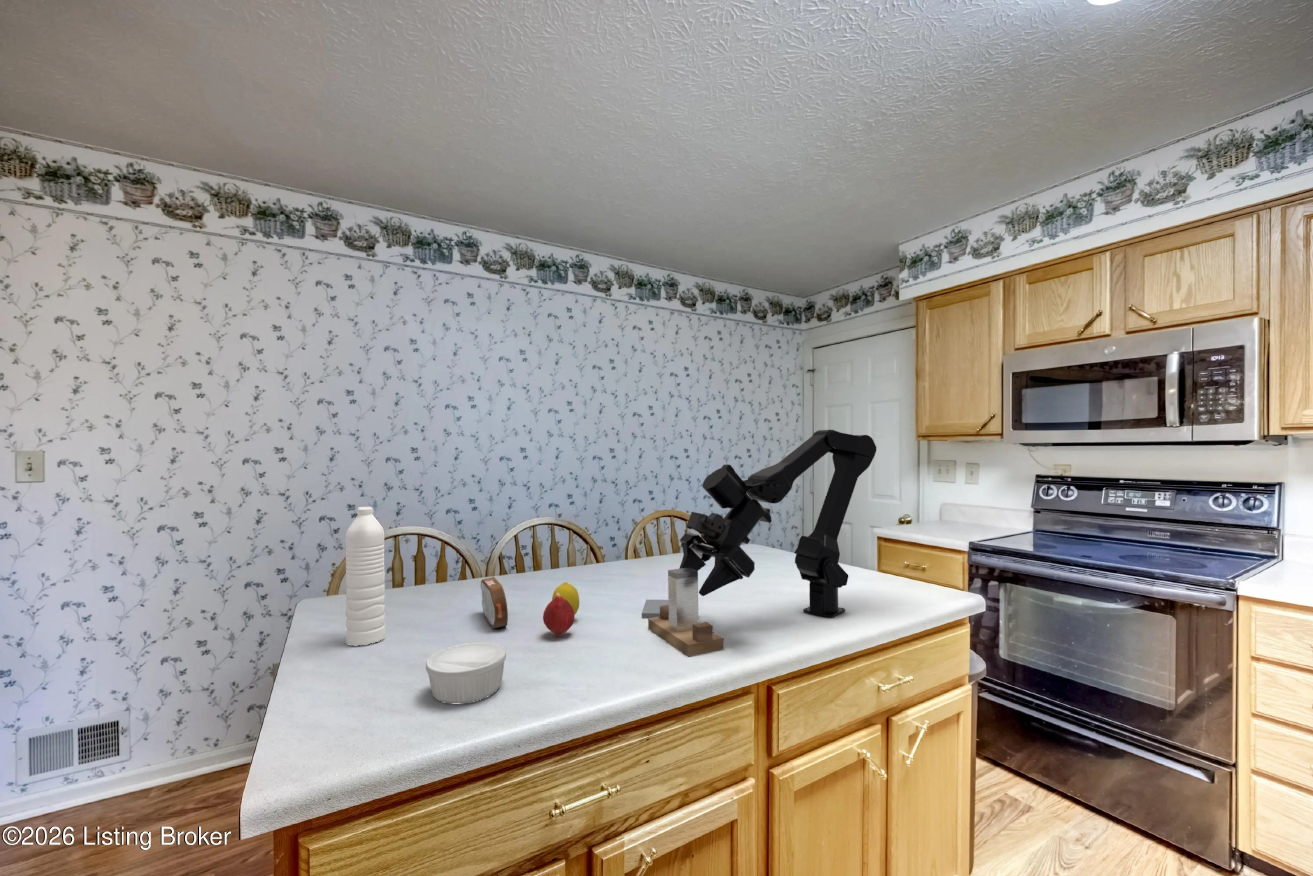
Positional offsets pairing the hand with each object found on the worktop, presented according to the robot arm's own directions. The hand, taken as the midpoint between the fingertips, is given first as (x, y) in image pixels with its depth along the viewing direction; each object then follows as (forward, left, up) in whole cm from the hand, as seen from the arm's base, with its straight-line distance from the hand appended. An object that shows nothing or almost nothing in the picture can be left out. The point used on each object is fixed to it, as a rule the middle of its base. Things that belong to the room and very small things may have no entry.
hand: (688, 588), depth 103 cm
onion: (+15, -19, -9) cm, 26 cm away
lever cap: (+1, 0, -7) cm, 7 cm away
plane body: (+1, 0, -9) cm, 9 cm away
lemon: (+9, -25, -9) cm, 28 cm away
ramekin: (+38, -10, -9) cm, 41 cm away
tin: (+19, -36, -9) cm, 42 cm away
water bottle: (+41, -43, -9) cm, 60 cm away
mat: (-9, -14, -9) cm, 19 cm away
